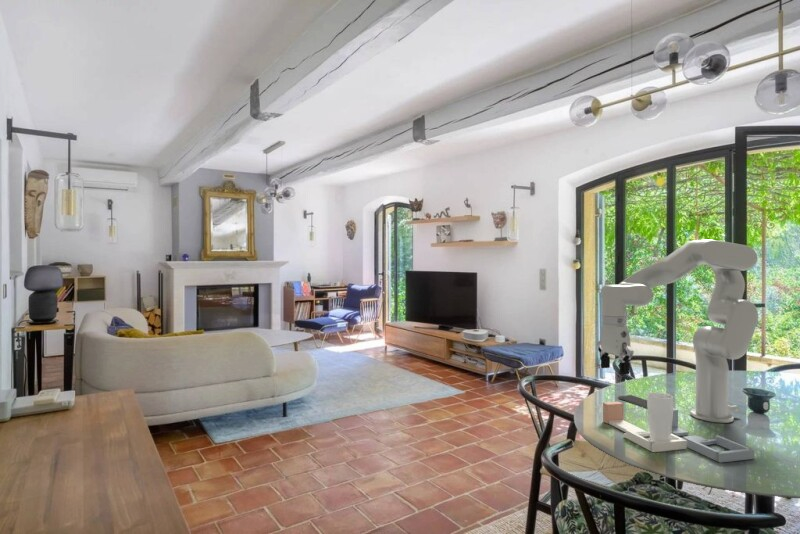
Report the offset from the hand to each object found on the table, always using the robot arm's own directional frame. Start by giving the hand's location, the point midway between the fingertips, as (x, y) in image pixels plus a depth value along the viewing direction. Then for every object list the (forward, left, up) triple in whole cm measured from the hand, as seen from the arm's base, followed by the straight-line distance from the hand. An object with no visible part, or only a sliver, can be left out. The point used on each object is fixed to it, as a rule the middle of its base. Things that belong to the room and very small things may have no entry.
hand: (614, 370), depth 163 cm
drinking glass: (+2, +23, -17) cm, 29 cm away
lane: (+2, +14, -17) cm, 22 cm away
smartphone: (-23, -15, -18) cm, 33 cm away
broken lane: (-11, +24, -17) cm, 31 cm away
